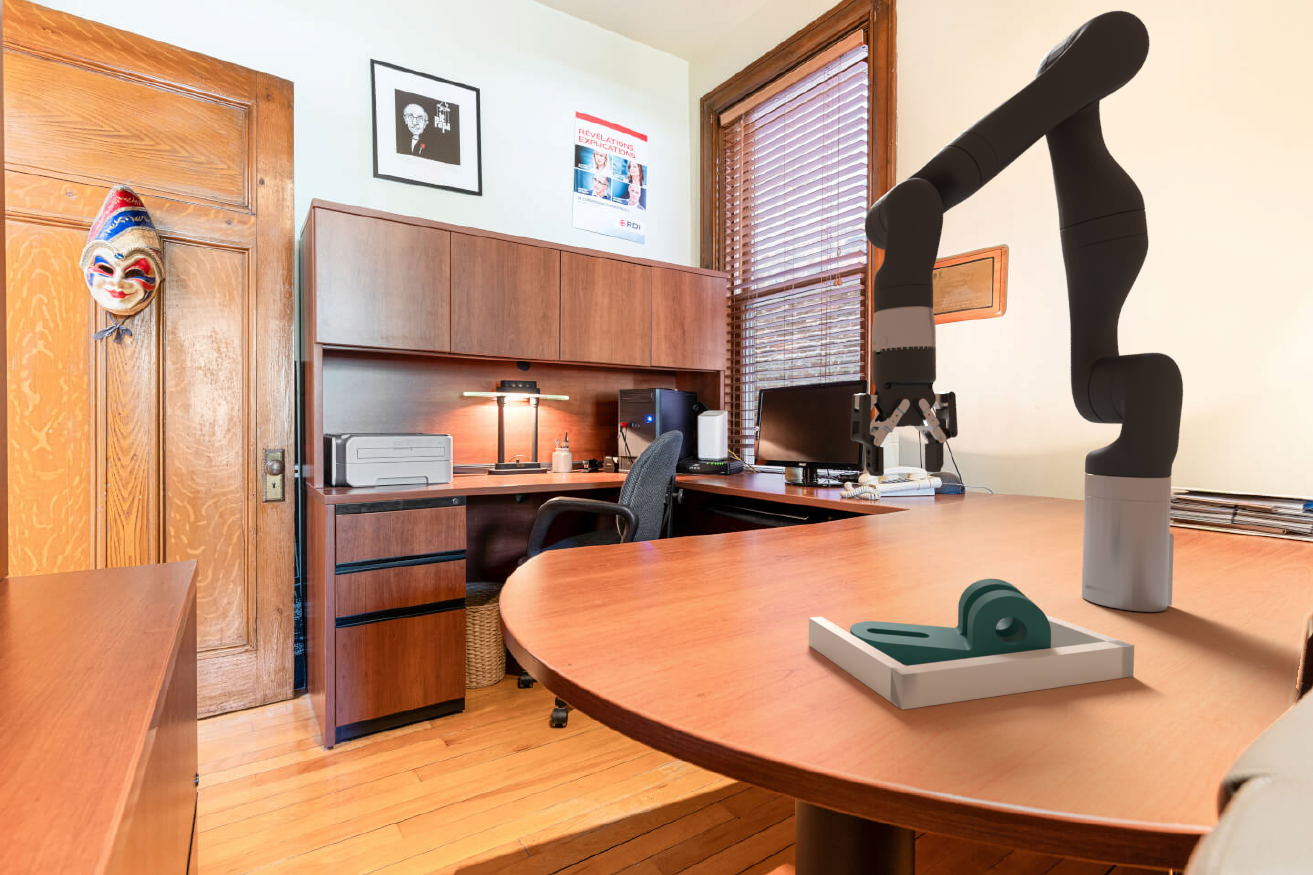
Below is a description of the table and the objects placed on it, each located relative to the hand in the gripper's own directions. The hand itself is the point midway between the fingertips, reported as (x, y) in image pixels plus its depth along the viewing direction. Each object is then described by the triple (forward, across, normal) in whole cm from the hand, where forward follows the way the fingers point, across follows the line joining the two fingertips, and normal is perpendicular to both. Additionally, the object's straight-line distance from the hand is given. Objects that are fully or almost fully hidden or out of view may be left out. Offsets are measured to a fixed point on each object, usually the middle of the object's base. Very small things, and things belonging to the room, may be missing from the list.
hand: (904, 473), depth 79 cm
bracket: (+18, +7, +14) cm, 24 cm away
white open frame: (+17, +6, +16) cm, 24 cm away
